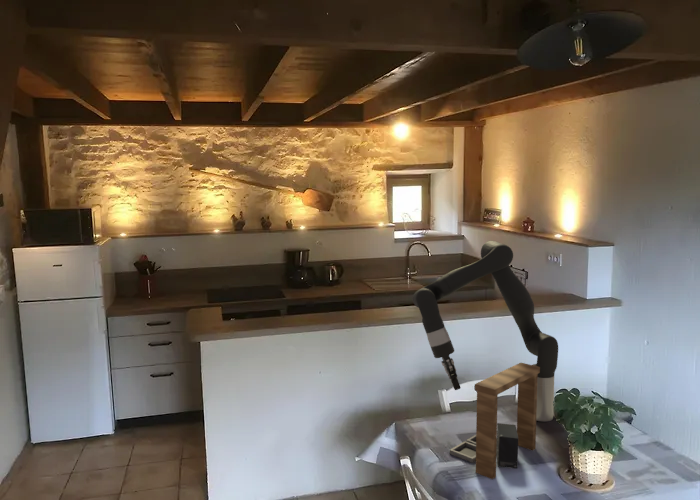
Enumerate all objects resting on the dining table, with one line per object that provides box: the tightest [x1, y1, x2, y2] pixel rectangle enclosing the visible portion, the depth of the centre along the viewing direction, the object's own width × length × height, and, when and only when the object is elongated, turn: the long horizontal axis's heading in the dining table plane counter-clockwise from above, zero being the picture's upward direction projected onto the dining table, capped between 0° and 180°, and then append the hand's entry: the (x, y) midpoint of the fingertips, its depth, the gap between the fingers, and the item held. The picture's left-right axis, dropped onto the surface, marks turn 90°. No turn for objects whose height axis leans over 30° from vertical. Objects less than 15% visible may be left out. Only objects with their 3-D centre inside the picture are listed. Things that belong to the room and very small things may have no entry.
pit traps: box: [449, 434, 476, 464], centre depth 192 cm, size 19×9×2 cm, turn 135°
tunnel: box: [474, 362, 540, 480], centre depth 182 cm, size 29×7×29 cm, turn 135°
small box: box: [496, 422, 519, 469], centre depth 183 cm, size 11×6×10 cm, turn 168°
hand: (457, 389), depth 196 cm, fingers closed
